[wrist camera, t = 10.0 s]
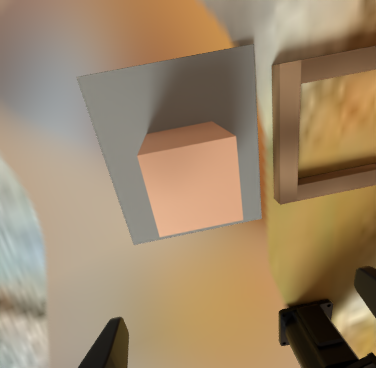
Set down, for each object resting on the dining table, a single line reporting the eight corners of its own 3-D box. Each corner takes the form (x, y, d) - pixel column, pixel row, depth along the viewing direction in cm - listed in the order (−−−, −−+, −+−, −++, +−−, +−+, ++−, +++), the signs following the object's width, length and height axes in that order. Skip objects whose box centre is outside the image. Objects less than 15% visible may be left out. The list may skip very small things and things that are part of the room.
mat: (258, 215, 21) (261, 218, 20) (134, 240, 21) (133, 245, 20) (250, 45, 15) (253, 44, 15) (79, 77, 15) (76, 76, 14)
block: (219, 181, 18) (243, 220, 13) (161, 193, 18) (159, 237, 13) (212, 121, 16) (236, 136, 11) (146, 134, 16) (137, 155, 11)
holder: (428, 166, 21) (443, 171, 20) (273, 198, 20) (280, 204, 19) (468, 28, 16) (490, 23, 15) (271, 65, 16) (279, 63, 15)
